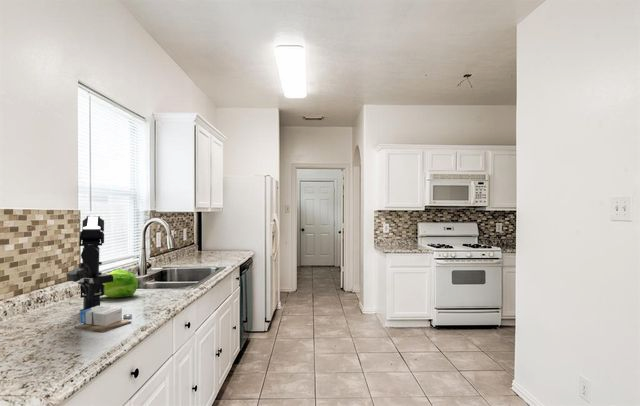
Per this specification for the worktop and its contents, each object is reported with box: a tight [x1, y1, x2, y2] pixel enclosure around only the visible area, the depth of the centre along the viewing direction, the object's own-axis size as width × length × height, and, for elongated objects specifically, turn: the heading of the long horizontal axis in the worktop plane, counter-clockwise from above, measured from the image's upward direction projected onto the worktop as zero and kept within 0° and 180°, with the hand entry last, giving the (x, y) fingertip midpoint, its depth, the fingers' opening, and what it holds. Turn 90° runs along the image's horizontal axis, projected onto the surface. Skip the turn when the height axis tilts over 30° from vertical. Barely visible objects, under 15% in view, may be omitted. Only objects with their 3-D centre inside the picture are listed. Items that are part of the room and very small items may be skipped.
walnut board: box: [74, 319, 132, 333], centre depth 144 cm, size 14×13×1 cm
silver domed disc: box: [122, 313, 133, 320], centre depth 154 cm, size 3×3×1 cm
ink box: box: [79, 305, 123, 326], centre depth 146 cm, size 9×5×12 cm
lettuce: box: [99, 269, 139, 298], centre depth 192 cm, size 15×22×15 cm
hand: (89, 299), depth 147 cm, fingers closed
